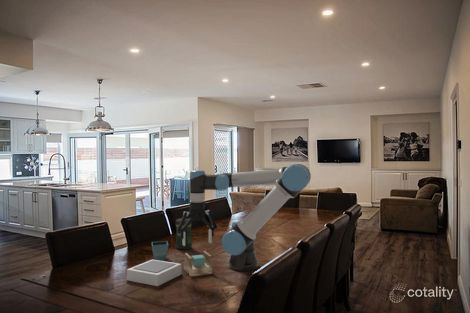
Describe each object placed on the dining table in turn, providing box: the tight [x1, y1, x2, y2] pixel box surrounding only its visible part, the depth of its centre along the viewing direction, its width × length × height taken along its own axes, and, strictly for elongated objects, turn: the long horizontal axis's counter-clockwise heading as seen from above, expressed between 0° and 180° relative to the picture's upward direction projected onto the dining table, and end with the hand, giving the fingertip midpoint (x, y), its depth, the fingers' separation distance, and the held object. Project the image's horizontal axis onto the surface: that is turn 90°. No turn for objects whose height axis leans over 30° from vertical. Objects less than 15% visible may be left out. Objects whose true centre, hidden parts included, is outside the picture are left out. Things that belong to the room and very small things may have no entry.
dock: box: [126, 259, 183, 287], centre depth 170 cm, size 18×18×5 cm
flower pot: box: [151, 240, 169, 261], centre depth 200 cm, size 9×9×9 cm
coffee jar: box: [175, 217, 193, 250], centre depth 224 cm, size 10×8×19 cm
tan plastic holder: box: [183, 250, 213, 277], centre depth 178 cm, size 11×12×8 cm
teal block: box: [190, 254, 205, 267], centre depth 178 cm, size 6×6×4 cm
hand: (197, 244), depth 178 cm, fingers open, 13 cm apart
